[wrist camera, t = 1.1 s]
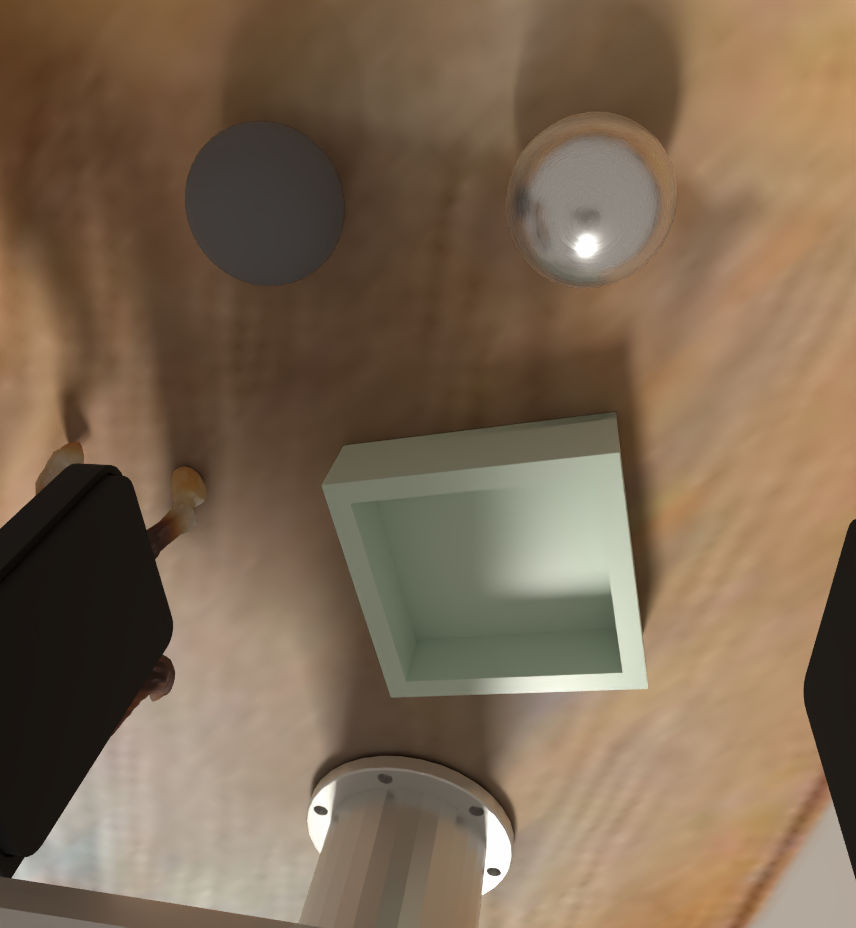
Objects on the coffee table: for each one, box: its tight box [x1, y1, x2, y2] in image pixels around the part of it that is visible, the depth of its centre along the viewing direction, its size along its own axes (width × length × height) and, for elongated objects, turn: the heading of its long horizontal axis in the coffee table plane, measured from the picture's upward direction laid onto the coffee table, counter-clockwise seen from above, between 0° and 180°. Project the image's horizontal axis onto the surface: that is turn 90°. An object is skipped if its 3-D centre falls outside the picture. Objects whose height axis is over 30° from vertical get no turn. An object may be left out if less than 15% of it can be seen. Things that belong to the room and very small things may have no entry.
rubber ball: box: [185, 121, 345, 286], centre depth 27 cm, size 6×6×6 cm
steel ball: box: [505, 111, 677, 289], centre depth 26 cm, size 6×6×6 cm
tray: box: [321, 412, 648, 698], centre depth 35 cm, size 12×12×4 cm
